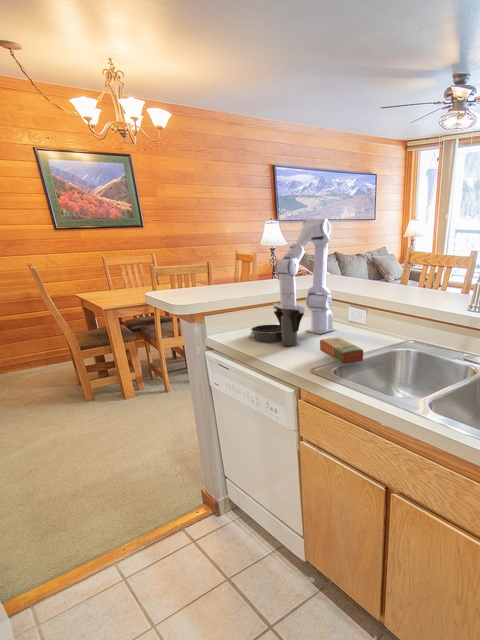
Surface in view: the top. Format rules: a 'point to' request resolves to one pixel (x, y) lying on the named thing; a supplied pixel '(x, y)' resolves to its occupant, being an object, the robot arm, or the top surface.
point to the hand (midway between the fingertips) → (289, 330)
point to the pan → (266, 333)
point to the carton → (341, 350)
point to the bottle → (288, 329)
